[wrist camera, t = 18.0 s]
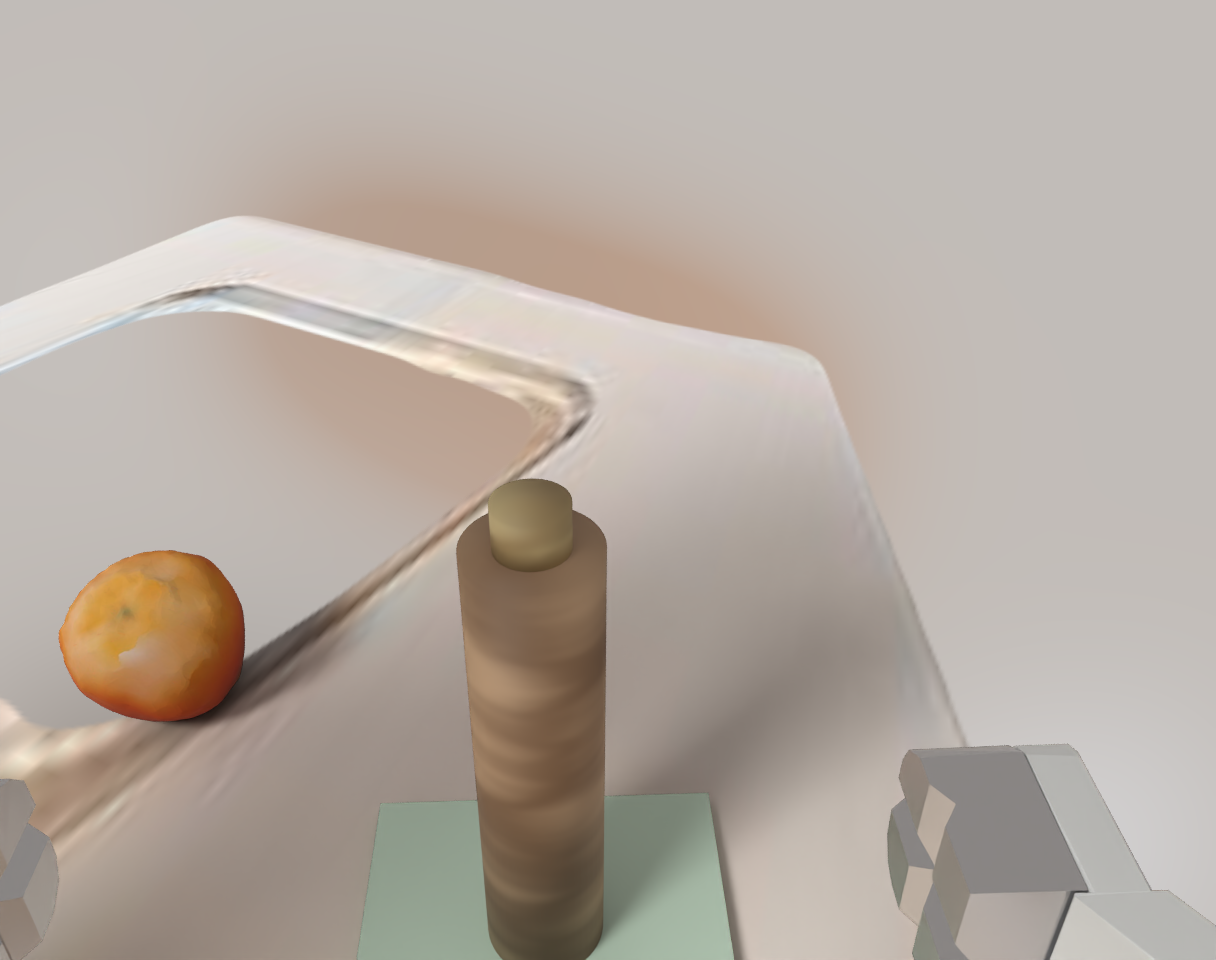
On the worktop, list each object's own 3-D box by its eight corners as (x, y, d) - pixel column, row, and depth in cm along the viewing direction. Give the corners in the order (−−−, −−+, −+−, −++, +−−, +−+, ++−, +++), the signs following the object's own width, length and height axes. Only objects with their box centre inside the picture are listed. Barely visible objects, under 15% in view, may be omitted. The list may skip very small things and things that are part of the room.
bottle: (485, 977, 41) (446, 550, 30) (490, 875, 44) (457, 461, 34) (605, 973, 41) (610, 547, 30) (601, 871, 45) (604, 458, 34)
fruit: (303, 604, 57) (236, 544, 50) (246, 757, 54) (165, 715, 47) (165, 576, 59) (81, 514, 52) (103, 722, 56) (3, 677, 48)
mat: (338, 1097, 38) (336, 1087, 37) (382, 812, 48) (380, 803, 47) (749, 1079, 38) (751, 1069, 38) (707, 802, 48) (708, 792, 48)
